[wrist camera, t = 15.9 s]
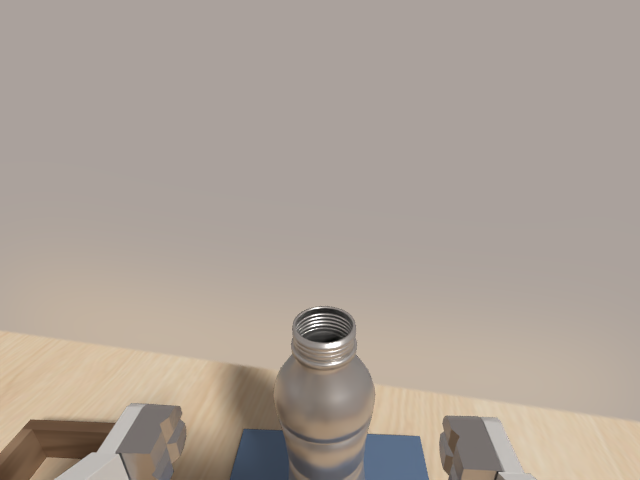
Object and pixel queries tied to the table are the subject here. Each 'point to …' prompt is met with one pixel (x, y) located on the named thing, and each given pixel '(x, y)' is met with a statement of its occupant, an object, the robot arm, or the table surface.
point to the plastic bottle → (324, 398)
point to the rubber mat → (379, 459)
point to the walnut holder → (49, 445)
